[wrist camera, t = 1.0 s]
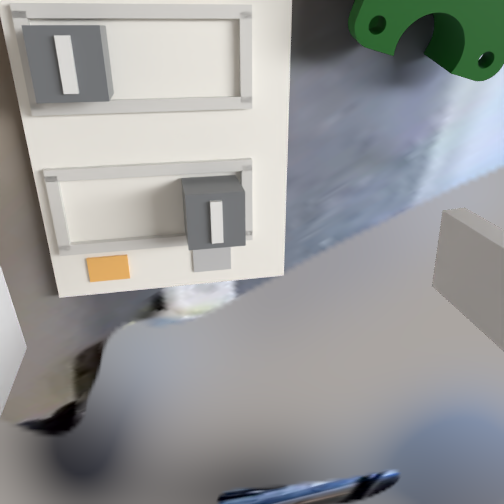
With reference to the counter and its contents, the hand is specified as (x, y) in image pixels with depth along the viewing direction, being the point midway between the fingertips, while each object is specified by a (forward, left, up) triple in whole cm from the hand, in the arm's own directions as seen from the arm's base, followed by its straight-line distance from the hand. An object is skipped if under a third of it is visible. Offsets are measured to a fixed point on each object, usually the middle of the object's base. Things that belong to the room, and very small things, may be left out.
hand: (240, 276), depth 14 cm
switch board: (0, -2, -22) cm, 22 cm away
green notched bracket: (-8, +16, -23) cm, 29 cm away
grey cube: (+5, +1, -21) cm, 22 cm away
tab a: (-5, -7, -21) cm, 23 cm away
